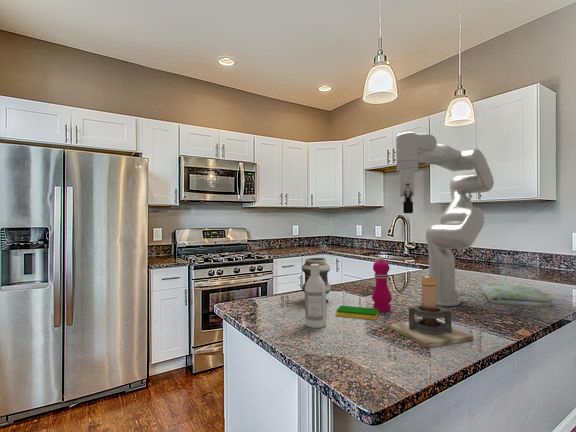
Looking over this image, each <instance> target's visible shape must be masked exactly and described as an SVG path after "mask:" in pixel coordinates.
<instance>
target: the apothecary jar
mask: <svg viewBox="0 0 576 432" xmlns="http://www.w3.org/2000/svg"><path fill="white" fill-rule="evenodd" d="M311 264H319V275H320V277H321V278H322V280H323V282H324V284H325V287H326V295H327V294H329V293H330V292H331V290H332V287H331V284H329V280H328V279H329V278H328V273H329V272H330V270H331V266H330V265H329V263H327V259H326V257H325V258H324V257H308V258H306V259H305V262H304V264H303V265H302V267H301V270H302V272H303V273H304V283H303V284H302V286H301V289H302V292H303V293H304V294H305V285H306V282H307V281H308V279H309V277H310V276H311V268H310V265H311ZM328 303H329V299H327V298H326V304H328Z"/></svg>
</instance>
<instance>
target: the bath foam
mask: <svg viewBox="0 0 576 432" xmlns="http://www.w3.org/2000/svg"><path fill="white" fill-rule="evenodd" d="M310 268H311V276H310V277H309V279H308V281H307V282H306V285H305V293H304V317H305V319H304V320H305V322H304V323H305V326H307V327H308V328H312V329H321V328H324V327H326V326H327V303H326V299H327V294H326V287H325V284H324V282H323V280H322V278H321V277H320V275H319V264H311V265H310Z"/></svg>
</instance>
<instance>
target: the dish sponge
mask: <svg viewBox="0 0 576 432" xmlns="http://www.w3.org/2000/svg"><path fill="white" fill-rule="evenodd" d="M335 312H336V316H337V317H343V318H344V317H345V318H353V319H363V320H370V321H371V320H372V321H375V320H377V319H378V316H379V311H378V309H375V308H372V307H361V306H349V305H340V306H339V307H338V308H337V309H336V311H335Z"/></svg>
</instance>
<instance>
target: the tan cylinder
mask: <svg viewBox="0 0 576 432" xmlns="http://www.w3.org/2000/svg"><path fill="white" fill-rule="evenodd" d="M420 278H421V305H422V311H427V312H437V306H438V305H437V304H436V276H431V275H429V274H425V275H421V277H420ZM421 319H422V325H424V326H429V327H437V320H438V318H437V319H436V318H425V317H421Z"/></svg>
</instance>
